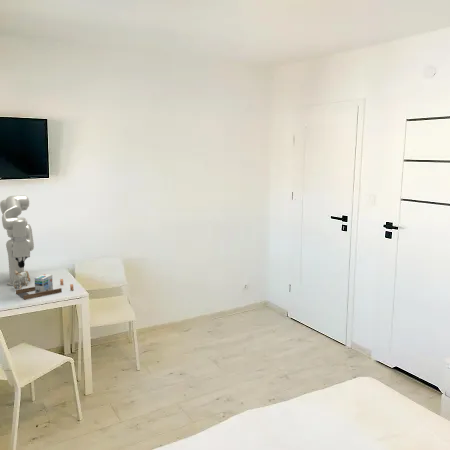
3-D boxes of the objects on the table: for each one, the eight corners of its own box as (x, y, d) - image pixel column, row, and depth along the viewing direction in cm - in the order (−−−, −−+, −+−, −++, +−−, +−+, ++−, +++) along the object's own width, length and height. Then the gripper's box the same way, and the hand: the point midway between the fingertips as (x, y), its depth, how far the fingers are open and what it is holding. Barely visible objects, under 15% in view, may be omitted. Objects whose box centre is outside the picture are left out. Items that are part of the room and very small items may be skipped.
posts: (59, 284, 319) (59, 279, 319) (62, 284, 321) (62, 278, 320) (71, 290, 306) (70, 285, 306) (74, 290, 308) (73, 284, 307)
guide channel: (15, 293, 298) (15, 290, 298) (52, 286, 314) (51, 283, 314) (24, 299, 287) (24, 295, 287) (61, 292, 303) (61, 288, 303)
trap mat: (16, 294, 297) (16, 294, 297) (26, 292, 301) (26, 292, 301) (23, 299, 288) (23, 298, 288) (33, 297, 292) (33, 296, 292)
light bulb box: (44, 294, 297) (43, 278, 295) (34, 294, 299) (33, 278, 297) (53, 290, 308) (52, 274, 306) (44, 289, 309) (43, 273, 307)
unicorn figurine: (9, 292, 302) (8, 272, 300) (20, 283, 321) (19, 264, 319) (20, 292, 302) (19, 272, 300) (31, 283, 322) (30, 264, 319)
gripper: (9, 241, 280) (11, 270, 283) (34, 238, 290) (35, 266, 293) (5, 239, 285) (6, 268, 288) (29, 236, 296) (31, 264, 299)
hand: (21, 267), depth 291 cm, fingers closed
